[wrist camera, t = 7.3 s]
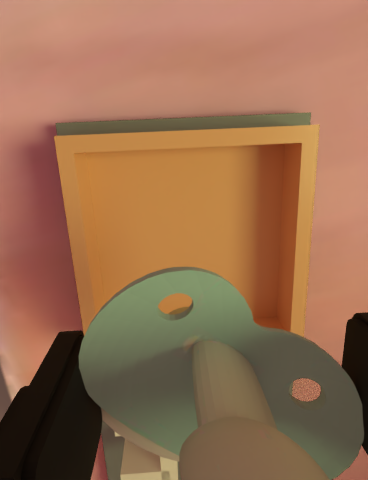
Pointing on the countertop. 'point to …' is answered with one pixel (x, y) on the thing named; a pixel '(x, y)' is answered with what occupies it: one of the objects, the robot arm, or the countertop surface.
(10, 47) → the countertop surface
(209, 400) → the pacifier
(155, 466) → the board
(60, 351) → the robot arm
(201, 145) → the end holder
